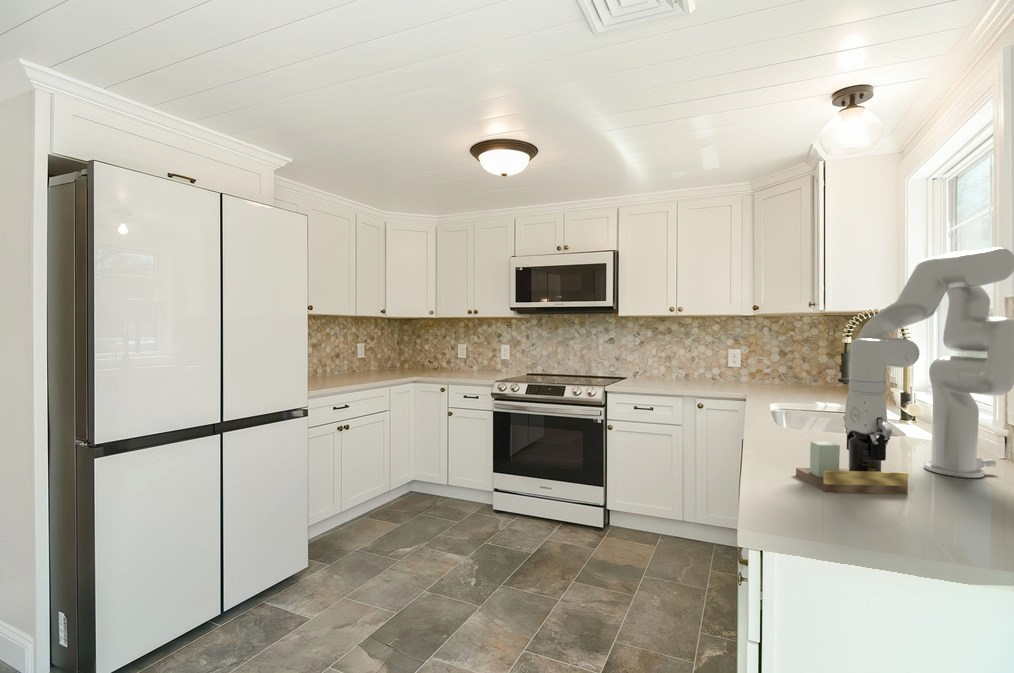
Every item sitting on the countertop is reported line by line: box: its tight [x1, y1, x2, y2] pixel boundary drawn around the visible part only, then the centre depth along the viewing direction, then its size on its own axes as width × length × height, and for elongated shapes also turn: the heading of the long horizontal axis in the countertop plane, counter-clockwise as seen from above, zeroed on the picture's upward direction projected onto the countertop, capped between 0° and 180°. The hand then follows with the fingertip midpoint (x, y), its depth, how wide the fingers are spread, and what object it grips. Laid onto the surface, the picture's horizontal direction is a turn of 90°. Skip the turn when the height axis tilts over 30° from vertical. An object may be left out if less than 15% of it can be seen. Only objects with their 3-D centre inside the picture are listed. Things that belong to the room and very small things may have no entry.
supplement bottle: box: [848, 431, 882, 472], centre depth 132 cm, size 7×7×12 cm
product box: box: [809, 441, 841, 477], centre depth 133 cm, size 5×4×8 cm
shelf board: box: [795, 467, 909, 495], centre depth 132 cm, size 19×14×5 cm
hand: (865, 455), depth 132 cm, fingers open, 9 cm apart
